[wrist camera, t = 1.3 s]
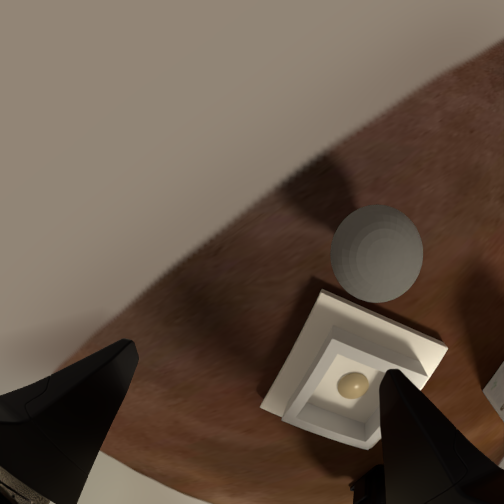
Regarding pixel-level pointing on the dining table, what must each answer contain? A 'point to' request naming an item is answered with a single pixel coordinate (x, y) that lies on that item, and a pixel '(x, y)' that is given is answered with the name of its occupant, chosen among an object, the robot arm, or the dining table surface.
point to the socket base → (347, 370)
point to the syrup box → (496, 391)
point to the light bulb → (376, 253)
